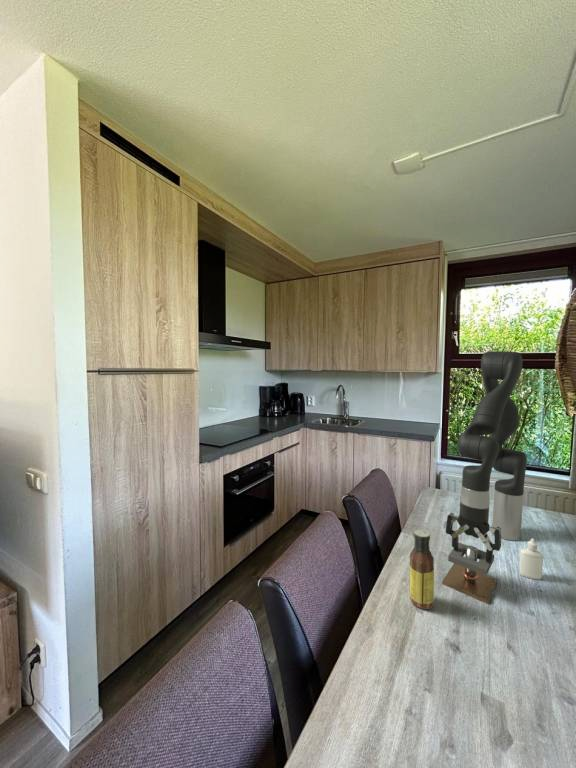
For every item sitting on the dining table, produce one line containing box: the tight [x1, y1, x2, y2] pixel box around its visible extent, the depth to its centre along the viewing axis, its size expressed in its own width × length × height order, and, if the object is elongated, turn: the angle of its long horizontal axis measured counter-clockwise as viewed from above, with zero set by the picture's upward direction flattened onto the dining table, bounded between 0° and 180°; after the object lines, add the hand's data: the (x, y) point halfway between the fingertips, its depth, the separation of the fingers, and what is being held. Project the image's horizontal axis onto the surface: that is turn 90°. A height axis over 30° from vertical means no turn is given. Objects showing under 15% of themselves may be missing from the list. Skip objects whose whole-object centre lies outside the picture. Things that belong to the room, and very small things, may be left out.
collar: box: [447, 541, 495, 576], centre depth 98 cm, size 10×10×2 cm
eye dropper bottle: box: [518, 537, 544, 581], centre depth 102 cm, size 4×6×12 cm
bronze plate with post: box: [441, 544, 498, 605], centre depth 98 cm, size 12×12×11 cm
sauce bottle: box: [409, 529, 435, 610], centre depth 90 cm, size 7×6×20 cm
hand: (471, 554), depth 98 cm, fingers open, 8 cm apart
